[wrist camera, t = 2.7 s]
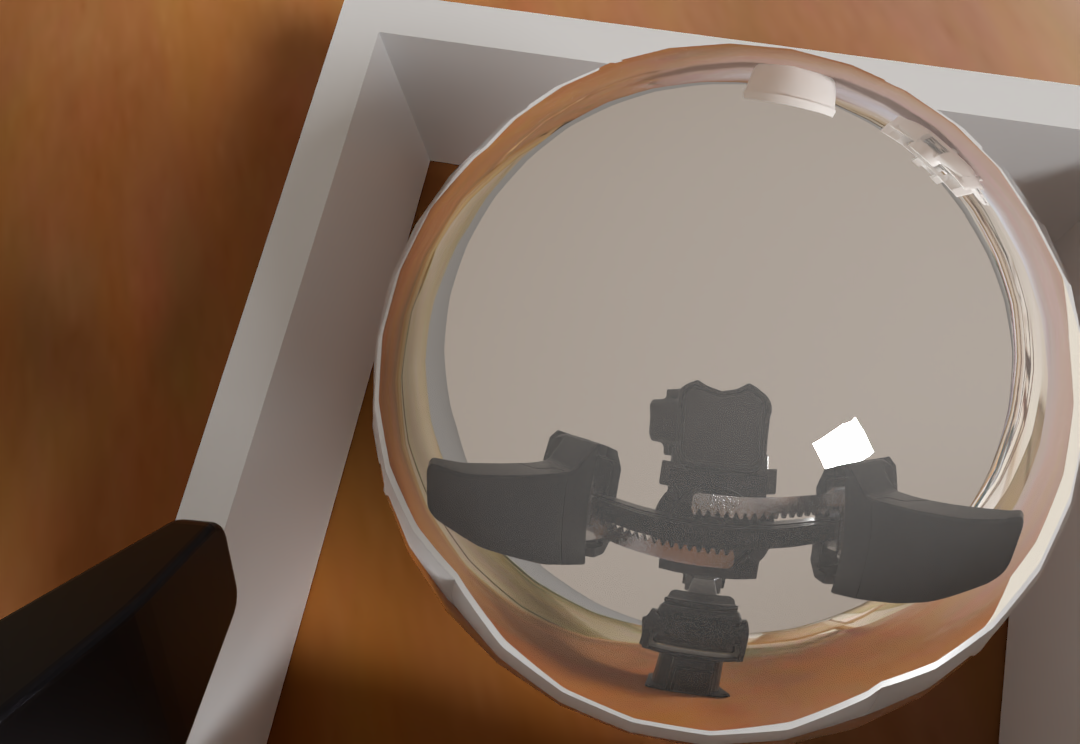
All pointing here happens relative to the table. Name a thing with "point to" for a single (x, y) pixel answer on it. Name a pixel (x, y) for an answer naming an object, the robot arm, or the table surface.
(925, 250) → the light bulb
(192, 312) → the table surface
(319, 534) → the grey box
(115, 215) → the table surface
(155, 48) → the table surface
